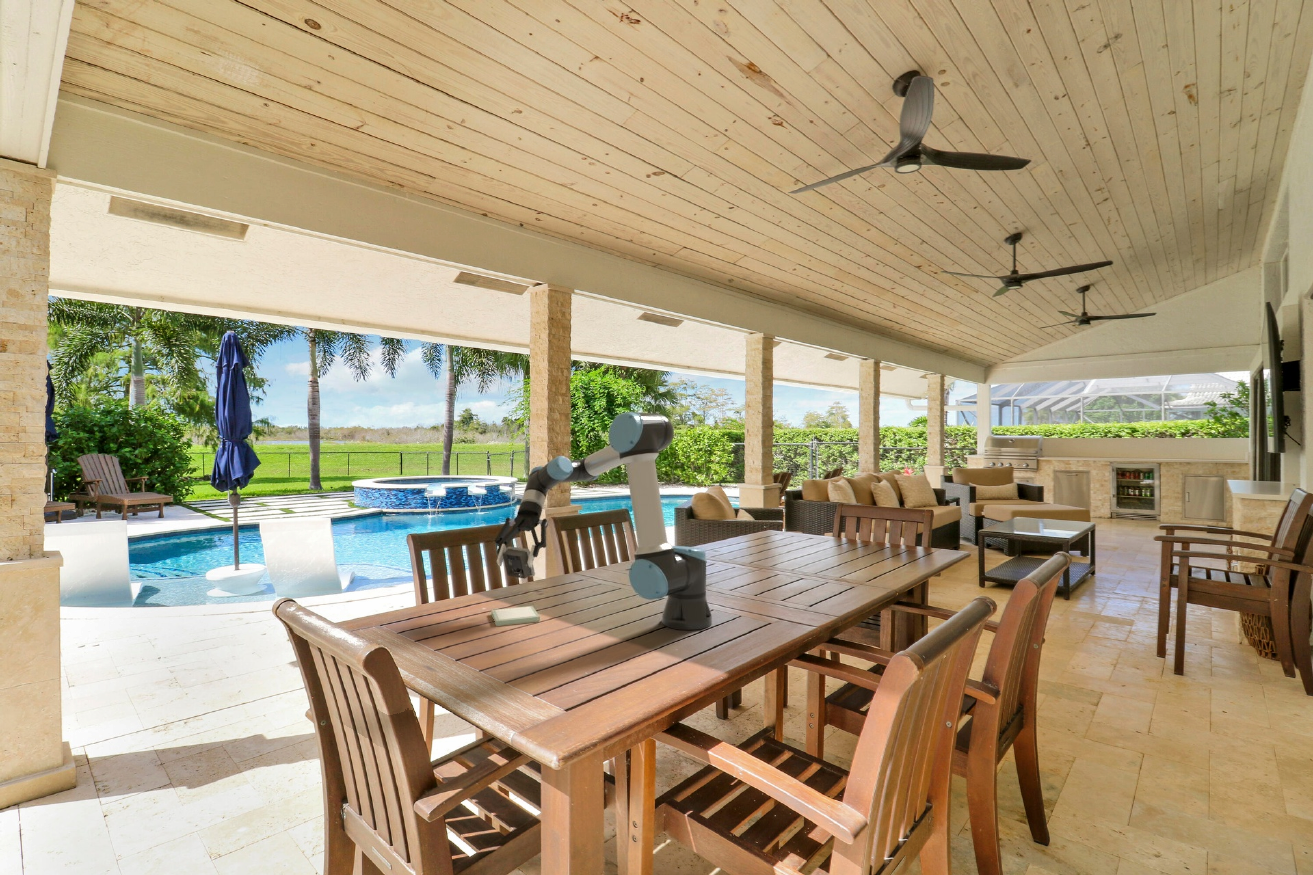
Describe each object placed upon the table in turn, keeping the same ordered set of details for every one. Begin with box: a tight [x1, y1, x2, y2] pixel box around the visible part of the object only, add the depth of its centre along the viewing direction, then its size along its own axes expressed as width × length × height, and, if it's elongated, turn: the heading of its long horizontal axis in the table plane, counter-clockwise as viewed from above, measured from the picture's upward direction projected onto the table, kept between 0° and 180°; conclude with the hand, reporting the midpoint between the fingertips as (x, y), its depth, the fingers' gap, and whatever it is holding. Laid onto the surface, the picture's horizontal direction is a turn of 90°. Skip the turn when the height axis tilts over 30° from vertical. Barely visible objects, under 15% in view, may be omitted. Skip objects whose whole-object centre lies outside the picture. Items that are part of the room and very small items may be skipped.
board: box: [490, 605, 541, 627], centre depth 194 cm, size 13×13×2 cm
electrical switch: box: [503, 545, 536, 580], centre depth 194 cm, size 9×5×9 cm, turn 57°
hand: (514, 564), depth 191 cm, fingers closed on electrical switch, 9 cm apart
